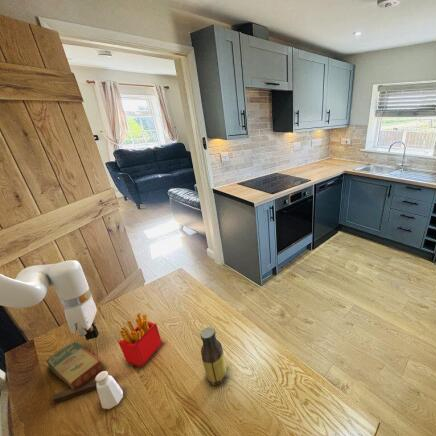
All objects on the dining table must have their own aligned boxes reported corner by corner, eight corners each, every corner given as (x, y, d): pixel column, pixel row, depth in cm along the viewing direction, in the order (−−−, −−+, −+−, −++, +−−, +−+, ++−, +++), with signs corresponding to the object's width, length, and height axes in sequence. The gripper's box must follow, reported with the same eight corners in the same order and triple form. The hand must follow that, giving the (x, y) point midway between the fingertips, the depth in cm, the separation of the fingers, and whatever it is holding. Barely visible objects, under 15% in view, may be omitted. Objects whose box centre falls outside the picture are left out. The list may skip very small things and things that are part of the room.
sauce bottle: (227, 364, 80) (221, 321, 72) (226, 383, 74) (219, 339, 66) (207, 368, 78) (198, 324, 70) (205, 388, 73) (195, 343, 65)
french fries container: (125, 362, 80) (113, 332, 74) (147, 339, 88) (138, 311, 82) (142, 368, 78) (131, 338, 72) (163, 344, 86) (154, 315, 81)
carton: (74, 392, 71) (69, 383, 69) (49, 368, 78) (43, 359, 76) (104, 368, 78) (100, 359, 76) (79, 347, 84) (74, 339, 83)
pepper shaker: (107, 414, 66) (94, 389, 62) (97, 403, 69) (84, 379, 64) (127, 395, 71) (117, 371, 66) (117, 386, 73) (107, 362, 68)
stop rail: (54, 403, 68) (52, 399, 68) (57, 398, 70) (54, 394, 69) (112, 383, 74) (111, 380, 73) (113, 379, 75) (112, 375, 74)
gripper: (70, 285, 82) (86, 324, 89) (50, 316, 69) (71, 358, 77) (96, 280, 85) (110, 318, 92) (82, 309, 72) (100, 351, 80)
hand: (92, 336), depth 84 cm, fingers closed
